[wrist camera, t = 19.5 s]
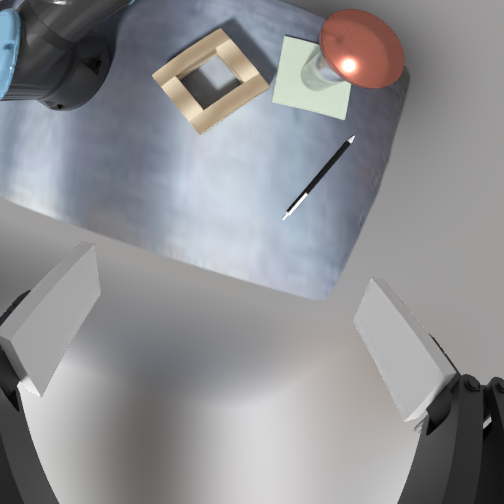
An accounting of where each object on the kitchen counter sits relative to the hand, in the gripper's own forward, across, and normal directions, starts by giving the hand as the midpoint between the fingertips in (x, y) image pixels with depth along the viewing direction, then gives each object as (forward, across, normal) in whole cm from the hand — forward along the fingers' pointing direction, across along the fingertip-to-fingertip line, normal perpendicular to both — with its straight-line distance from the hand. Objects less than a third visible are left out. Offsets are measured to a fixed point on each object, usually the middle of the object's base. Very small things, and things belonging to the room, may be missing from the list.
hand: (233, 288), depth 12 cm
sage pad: (+33, +10, +18) cm, 39 cm away
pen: (+33, +14, +2) cm, 36 cm away
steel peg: (+32, +10, +18) cm, 38 cm away
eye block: (+33, -6, +14) cm, 36 cm away
